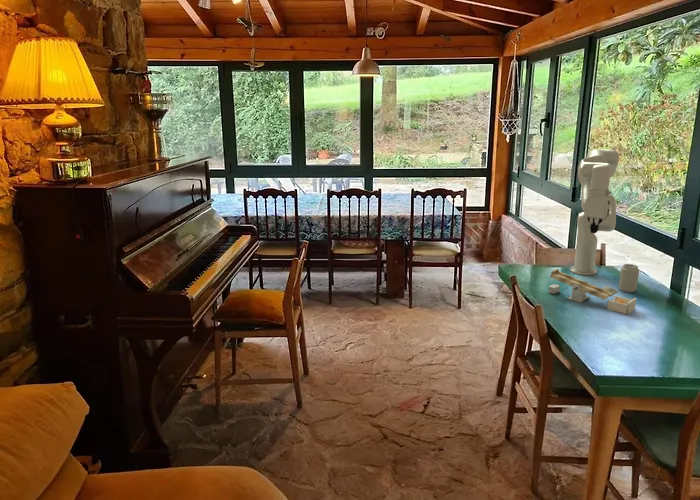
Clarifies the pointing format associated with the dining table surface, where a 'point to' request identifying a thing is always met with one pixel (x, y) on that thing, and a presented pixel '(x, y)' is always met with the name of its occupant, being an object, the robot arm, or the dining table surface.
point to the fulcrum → (576, 292)
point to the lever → (584, 285)
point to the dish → (622, 305)
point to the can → (628, 278)
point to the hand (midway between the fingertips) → (593, 232)
